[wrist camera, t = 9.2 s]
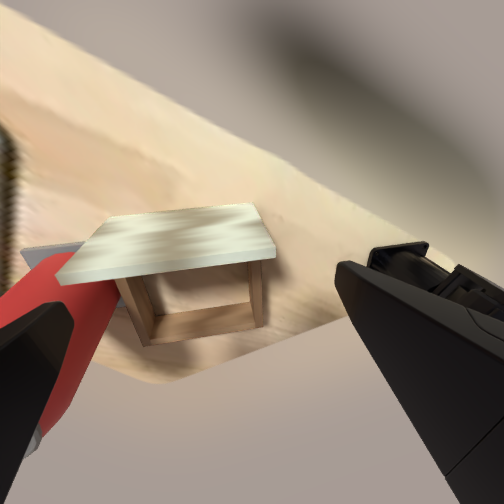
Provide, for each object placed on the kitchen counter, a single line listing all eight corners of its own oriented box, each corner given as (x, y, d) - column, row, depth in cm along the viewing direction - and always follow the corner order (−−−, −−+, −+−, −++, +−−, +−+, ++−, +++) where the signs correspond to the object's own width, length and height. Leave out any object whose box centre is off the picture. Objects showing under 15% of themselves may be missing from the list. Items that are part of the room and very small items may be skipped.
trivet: (109, 239, 20) (107, 241, 19) (134, 301, 23) (133, 305, 23) (23, 248, 19) (19, 251, 19) (63, 312, 23) (60, 315, 22)
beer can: (39, 238, 18) (-172, 395, 8) (130, 260, 20) (55, 405, 10) (37, 301, 21) (-123, 479, 11) (118, 314, 23) (49, 473, 13)
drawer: (252, 202, 20) (275, 247, 13) (257, 306, 26) (275, 373, 20) (109, 216, 19) (54, 275, 12) (149, 322, 25) (128, 401, 18)
